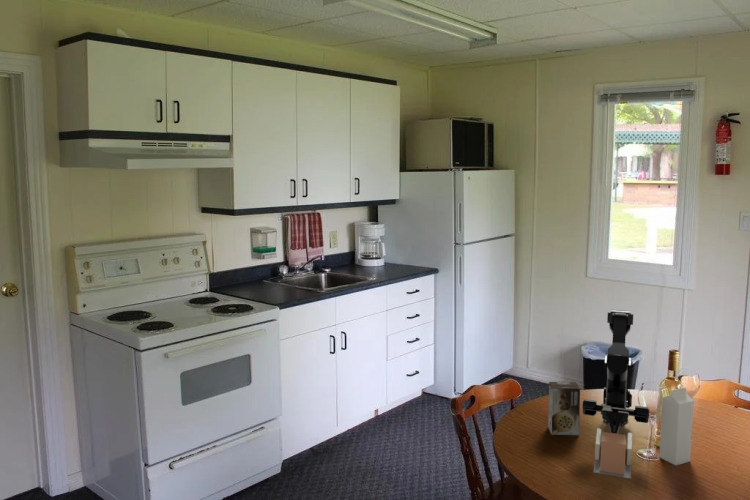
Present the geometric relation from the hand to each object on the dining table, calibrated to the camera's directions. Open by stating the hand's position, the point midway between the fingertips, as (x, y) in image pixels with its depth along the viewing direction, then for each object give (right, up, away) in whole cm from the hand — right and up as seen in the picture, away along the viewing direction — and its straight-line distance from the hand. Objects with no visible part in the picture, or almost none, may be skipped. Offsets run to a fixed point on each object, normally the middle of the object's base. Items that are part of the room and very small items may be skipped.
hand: (613, 437), depth 185 cm
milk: (+19, -7, +2) cm, 21 cm away
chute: (+1, -7, +2) cm, 8 cm away
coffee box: (-8, -5, +23) cm, 25 cm away
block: (-1, -8, -2) cm, 9 cm away
